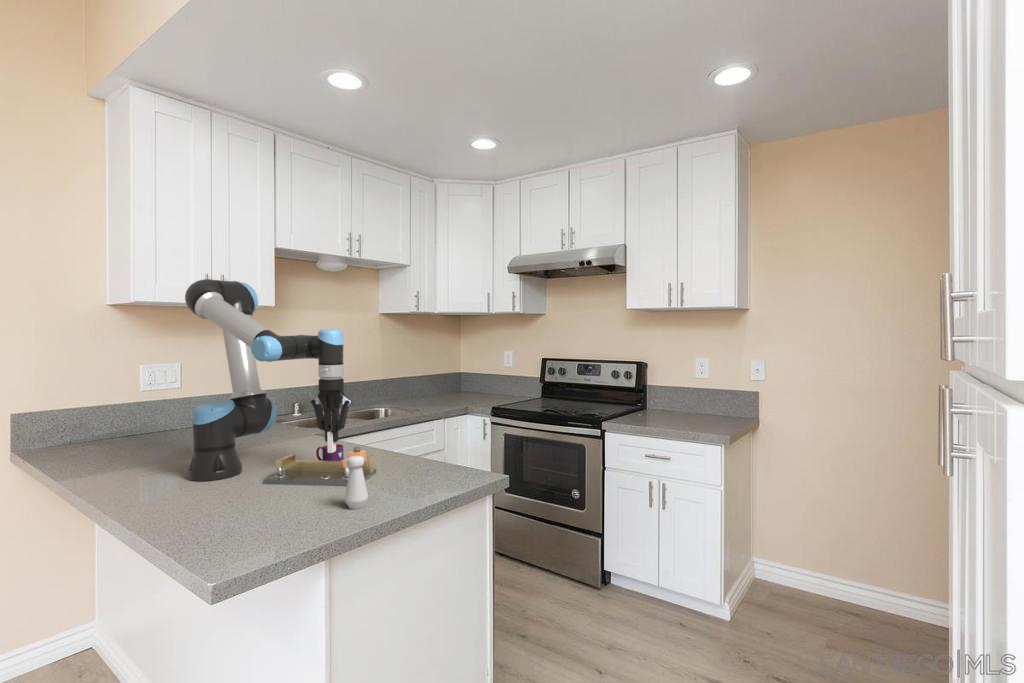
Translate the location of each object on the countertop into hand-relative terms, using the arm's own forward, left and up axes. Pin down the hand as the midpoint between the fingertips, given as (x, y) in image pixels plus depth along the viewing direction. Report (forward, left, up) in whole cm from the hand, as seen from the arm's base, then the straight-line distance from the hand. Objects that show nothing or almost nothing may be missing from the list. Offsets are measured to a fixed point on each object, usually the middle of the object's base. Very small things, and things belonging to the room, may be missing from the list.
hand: (331, 451), depth 163 cm
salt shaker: (+21, -28, -8) cm, 36 cm away
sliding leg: (+9, -3, -6) cm, 11 cm away
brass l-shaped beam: (-1, -3, -6) cm, 7 cm away
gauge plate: (-1, -4, -7) cm, 9 cm away
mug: (-6, +10, -8) cm, 14 cm away
